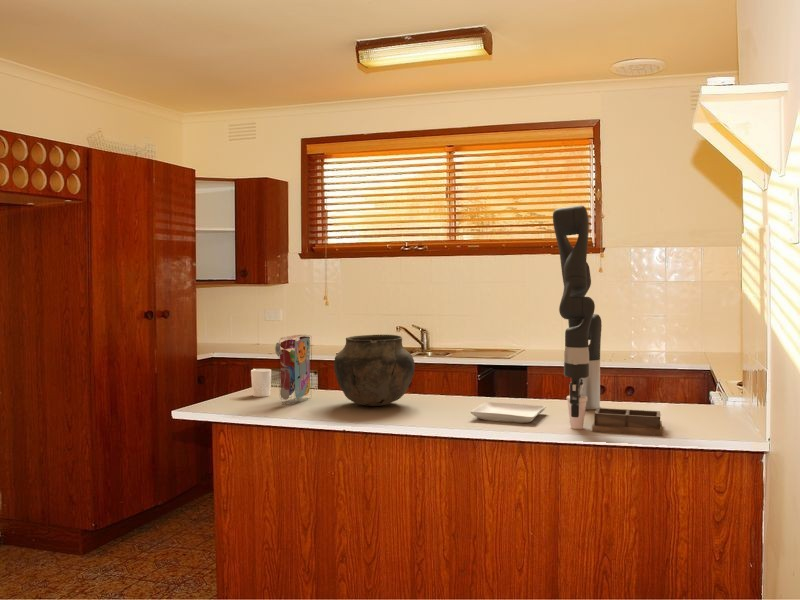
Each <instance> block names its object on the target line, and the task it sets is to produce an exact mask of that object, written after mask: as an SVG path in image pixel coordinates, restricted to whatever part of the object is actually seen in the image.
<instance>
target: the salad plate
mask: <svg viewBox="0 0 800 600" xmlns="http://www.w3.org/2000/svg"><path fill="white" fill-rule="evenodd" d="M546 408H547V406H546V405H537V404H526V403H513V402H501V401H500V402H499V401H498V402H497V401H486V402H484V403H481V404H480V405H478V406H476V407H475V408H473V409H471V410H470V411H469V412H470V414H471V415H473V417H475V418H478V419H481V420H484V421H493V422H504V423H506V422H507V423H516V424H524V423H525V424H527V423H531V422H532V421H534V419H535V418H536V417H537V416H538V415H540V414H541V413H543V412H544V411H545V409H546Z"/></svg>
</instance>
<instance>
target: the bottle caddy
mask: <svg viewBox="0 0 800 600" xmlns="http://www.w3.org/2000/svg"><path fill="white" fill-rule="evenodd" d="M593 416H594V421H593V423H592V425H591V432H596V433H609V434H610V433H612V434H626V435H627V434H628V435H641V436H643V435H644V436H655V437H656V436H659V437H662V436H663V422H662V420H661V411H659V410H645V409H643V410H642V409H624V408H622V409H621V408H606V407H600V408H597V409H595V411H594V414H593Z"/></svg>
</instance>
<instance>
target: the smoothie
mask: <svg viewBox="0 0 800 600" xmlns="http://www.w3.org/2000/svg"><path fill="white" fill-rule="evenodd" d="M565 399H566V401H567V406H568V407H567V408H568V415H569V423H570V425H569V426H570V429H572V430H582V429H584V423H585V416H586V410H587V409H586V401H587V397H586V396H581V398H580V399H579V402H580V404H579V416H578V417H572V416H571V404H570V394H569V395H567V396H566V398H565ZM573 400H577V398H573Z"/></svg>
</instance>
